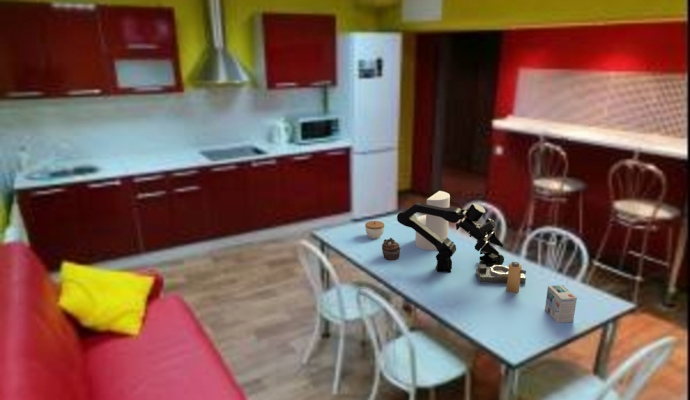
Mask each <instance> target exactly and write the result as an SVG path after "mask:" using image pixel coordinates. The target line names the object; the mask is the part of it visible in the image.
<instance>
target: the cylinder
mask: <svg viewBox="0 0 690 400" xmlns="http://www.w3.org/2000/svg"><path fill="white" fill-rule="evenodd" d="M450 195H451V194H450V193H448V192H446V191H443V190H438V191H437V192H435V193H434V194H433V195H431V196H430V197H428V198H426V204H427V205H432V206H437V207H442V208H449V207H450V205H451V204H450V200H451V196H450ZM416 218H417V220H418V221H419V222H421V223H422V224H423V225H425V226H426V227H427V228H428V229H430V230H431V231H432V232H434V233H435V234H436V235H438V236H439V237H440V238H442V239H446V238H449V237H448V236H449V223H450V222H449V221H446V220H445V219H443V218H441V217H438V216H433V215H428V214H424V215H423V214H422V215H419V216H418V217H417V216H416ZM414 241H415V242H414V243H415V245H416V247H417V248H419V249H422V250H426V251H438V250H437V249H436V247H435V246H434V245H433V244H432V243H431V242H429V241H428V240H427V239H425V238H424V237H423V236H421V235H420V234H419V233H418V232H416V231H415V240H414Z"/></svg>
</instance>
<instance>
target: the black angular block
mask: <svg viewBox="0 0 690 400" xmlns="http://www.w3.org/2000/svg"><path fill="white" fill-rule="evenodd" d="M479 255H481V256H479V264H485V266H486V267H492V266H494V265H503V264H504V262H505V257H504V255H503V254H500V253H499V254H498V255H496V254H492V253H488V252H483V251H480V250H479Z"/></svg>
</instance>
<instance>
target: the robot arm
mask: <svg viewBox="0 0 690 400" xmlns="http://www.w3.org/2000/svg"><path fill="white" fill-rule="evenodd" d="M416 213H420V214H424V215H426V214H428V215H433V216H438V217H441V218H443V219H445V220H446V221H449V223H452V224H455V230H456V231H458V230H459V229H460V228H461V229H462V230H463V231H464V232H466V233H468V235H469V236H468V237H470V238H473V239H475V240H476V243H475V245H474V250H476V251H477V252H480V251H483V252H488V253H492V254H496V255H498V254H500V252H499V251H498V250H497V249H496V248H495V247H494V246H495V245H496V246H497V247H501V248H502V247H503V246H504V244H503V243H502V242H501V240H500V239H499V237H498V236H497V233H496V231H497V230H496V227H497V225H496V223H495V220H493V218H492V219H491V218H487V219H486V220H485V223H484V224H481V223H476V222H478V221H479V220H480V219H481V218H482V217H483V216H484V214H486V209H485V208H484V207H483V206H482V205H480V204H477V203H474V202H472V204H470V206H469V208H468V209H462V208H460V207H458V206H457V207H453V206H451V207H450V206H449V208H442V207H437V206H432V205H427V203H423V202H422V203H421V202H419V201H417V202H415V203H414V204H413V205H412V206H410V207H409V208H404V209H403V210H401V211H400V212H399V213H398V214H397V216H396V220H397V222H398V223H399V224H400V225H403V226H404V227H407V228H410V229H412V230H413V231H415V233H416V232H418V233H419V234H420V235H421V236H423V237H424V238H425V239H427V240H428V241H429V242H431V243H432V244H433V245H434V246H435V247H436V249H437V250H436V251H437V252H438V253H437V254H436V255H435V259H436V266H435V267H436V272H437V273H451V272H452V269H453V261H452V257H453V255H454V254H455V253H456V252H457V246H456V244H455V242H454V241H452V240H451V239H450V238H449V237H448V238H446V239H442V238H440V237H439V236H438V235H436V234H435V233H434V232H432V231H431V230H430V229H428V228H427V227H426V226H425V225H423V224H422V223H421V222H419V221H418V220H417V216H416ZM493 245H494V246H493Z"/></svg>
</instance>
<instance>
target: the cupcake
mask: <svg viewBox="0 0 690 400" xmlns="http://www.w3.org/2000/svg"><path fill="white" fill-rule="evenodd" d="M401 250H402V249H401V247H400V244H399V243H398V242H396V240H395V239H393V237H390V238H389V239H388V238H387V239H384V240H383V242H382V244H381V251H382V255H383V259H384V260H387V261H396V260H399V259H400V254H401Z"/></svg>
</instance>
